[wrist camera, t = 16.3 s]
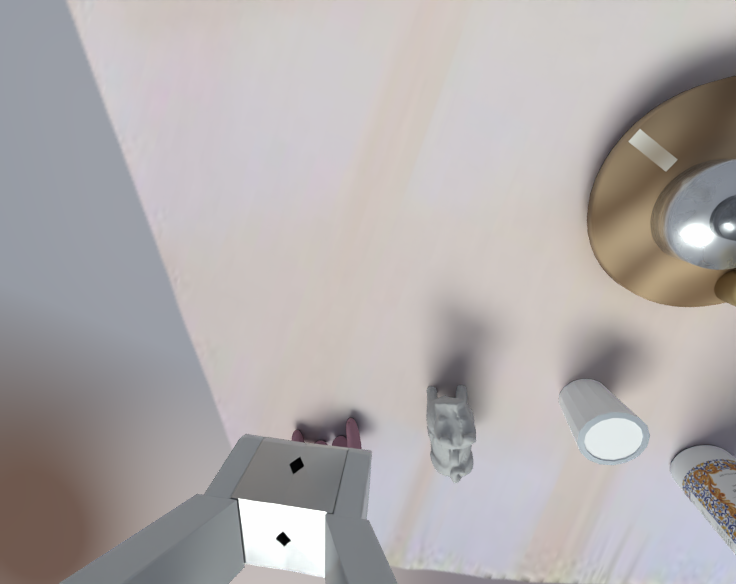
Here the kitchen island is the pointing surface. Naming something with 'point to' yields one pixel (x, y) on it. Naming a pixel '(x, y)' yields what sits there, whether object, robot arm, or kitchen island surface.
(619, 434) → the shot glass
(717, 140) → the turntable
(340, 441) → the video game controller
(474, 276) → the kitchen island surface
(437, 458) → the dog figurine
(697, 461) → the bath foam
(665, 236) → the cover
